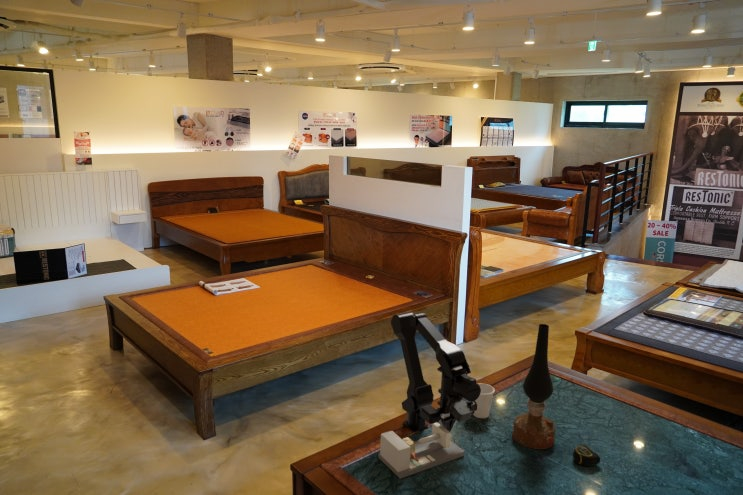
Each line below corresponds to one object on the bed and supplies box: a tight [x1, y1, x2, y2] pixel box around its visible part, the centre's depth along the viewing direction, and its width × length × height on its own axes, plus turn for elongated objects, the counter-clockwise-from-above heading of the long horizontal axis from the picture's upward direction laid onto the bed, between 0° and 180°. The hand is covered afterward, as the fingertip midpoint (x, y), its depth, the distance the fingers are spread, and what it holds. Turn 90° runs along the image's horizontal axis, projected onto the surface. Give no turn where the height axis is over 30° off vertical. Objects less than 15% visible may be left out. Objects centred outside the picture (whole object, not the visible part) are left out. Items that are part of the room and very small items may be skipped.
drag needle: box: [401, 436, 419, 462], centre depth 165 cm, size 7×2×4 cm, turn 31°
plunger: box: [418, 422, 452, 448], centre depth 171 cm, size 7×9×5 cm
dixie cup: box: [472, 382, 496, 419], centre depth 195 cm, size 8×8×10 cm
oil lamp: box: [511, 323, 556, 450], centre depth 179 cm, size 14×15×40 cm
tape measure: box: [572, 445, 601, 467], centre depth 169 cm, size 7×7×4 cm
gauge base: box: [377, 430, 465, 479], centre depth 169 cm, size 12×24×8 cm, turn 121°
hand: (447, 433), depth 174 cm, fingers closed
